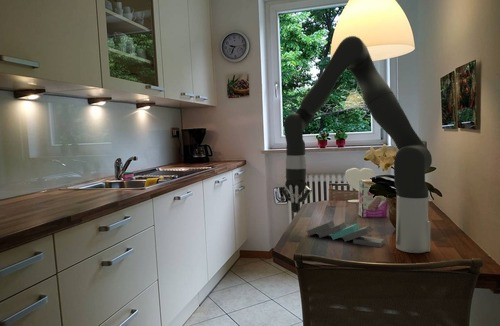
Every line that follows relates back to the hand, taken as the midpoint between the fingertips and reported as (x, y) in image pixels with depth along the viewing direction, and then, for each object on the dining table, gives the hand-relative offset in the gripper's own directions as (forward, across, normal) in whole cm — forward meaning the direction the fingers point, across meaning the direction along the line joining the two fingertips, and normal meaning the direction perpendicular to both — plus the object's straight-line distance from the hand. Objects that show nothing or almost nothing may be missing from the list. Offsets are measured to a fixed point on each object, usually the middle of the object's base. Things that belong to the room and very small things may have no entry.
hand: (296, 212), depth 138 cm
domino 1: (+7, +6, 0) cm, 9 cm away
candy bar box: (+8, +18, +39) cm, 44 cm away
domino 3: (+7, +15, 0) cm, 17 cm away
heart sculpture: (+8, +3, +72) cm, 73 cm away
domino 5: (+7, +23, 0) cm, 24 cm away
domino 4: (+7, +20, 0) cm, 21 cm away
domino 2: (+7, +10, 0) cm, 12 cm away
